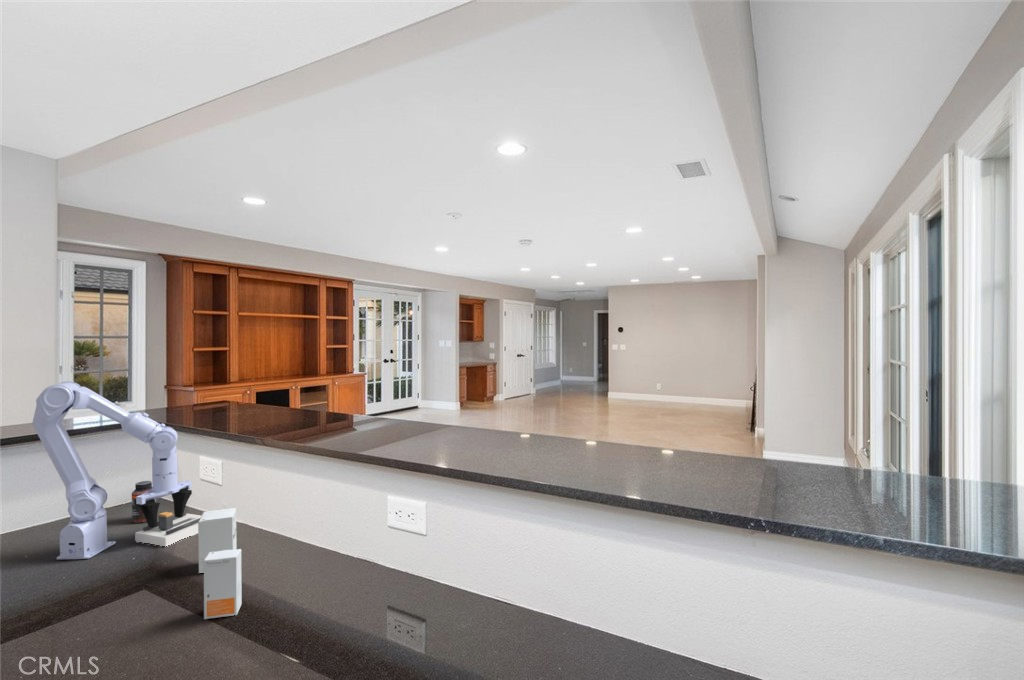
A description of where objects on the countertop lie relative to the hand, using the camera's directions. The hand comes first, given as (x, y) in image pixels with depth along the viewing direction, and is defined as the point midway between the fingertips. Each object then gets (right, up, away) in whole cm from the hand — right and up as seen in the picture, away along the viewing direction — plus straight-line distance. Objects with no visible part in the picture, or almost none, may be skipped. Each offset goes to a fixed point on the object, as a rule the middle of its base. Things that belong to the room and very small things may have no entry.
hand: (166, 521), depth 140 cm
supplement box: (+24, -5, -16) cm, 29 cm away
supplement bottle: (-16, -4, +13) cm, 21 cm away
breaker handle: (0, -2, 0) cm, 2 cm away
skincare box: (+36, -6, -37) cm, 52 cm away
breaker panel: (+1, -4, +3) cm, 5 cm away
